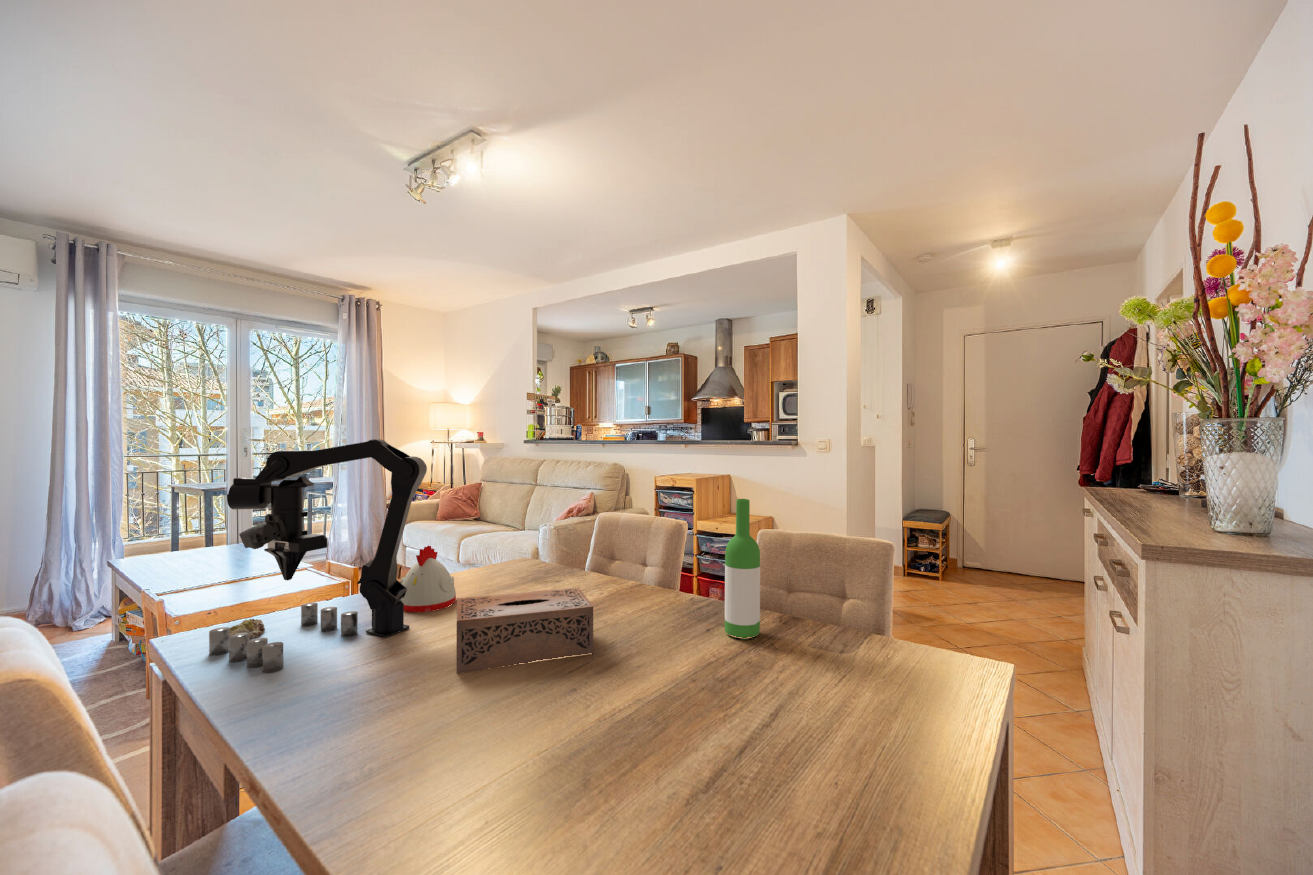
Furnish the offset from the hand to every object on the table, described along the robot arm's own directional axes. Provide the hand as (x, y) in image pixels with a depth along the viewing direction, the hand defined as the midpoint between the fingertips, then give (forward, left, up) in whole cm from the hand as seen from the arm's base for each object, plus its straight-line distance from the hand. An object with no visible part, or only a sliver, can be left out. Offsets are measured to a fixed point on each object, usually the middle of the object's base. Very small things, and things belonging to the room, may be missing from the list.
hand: (287, 579), depth 118 cm
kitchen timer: (-9, -30, -13) cm, 33 cm away
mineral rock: (+9, +5, -13) cm, 16 cm away
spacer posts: (-6, +2, -12) cm, 14 cm away
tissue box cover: (-51, -17, -13) cm, 55 cm away
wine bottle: (-89, -45, -13) cm, 100 cm away
